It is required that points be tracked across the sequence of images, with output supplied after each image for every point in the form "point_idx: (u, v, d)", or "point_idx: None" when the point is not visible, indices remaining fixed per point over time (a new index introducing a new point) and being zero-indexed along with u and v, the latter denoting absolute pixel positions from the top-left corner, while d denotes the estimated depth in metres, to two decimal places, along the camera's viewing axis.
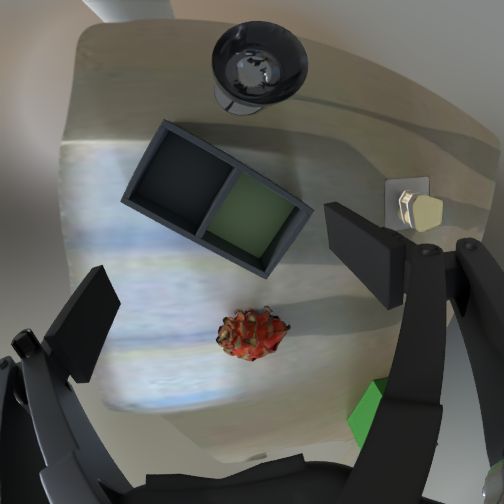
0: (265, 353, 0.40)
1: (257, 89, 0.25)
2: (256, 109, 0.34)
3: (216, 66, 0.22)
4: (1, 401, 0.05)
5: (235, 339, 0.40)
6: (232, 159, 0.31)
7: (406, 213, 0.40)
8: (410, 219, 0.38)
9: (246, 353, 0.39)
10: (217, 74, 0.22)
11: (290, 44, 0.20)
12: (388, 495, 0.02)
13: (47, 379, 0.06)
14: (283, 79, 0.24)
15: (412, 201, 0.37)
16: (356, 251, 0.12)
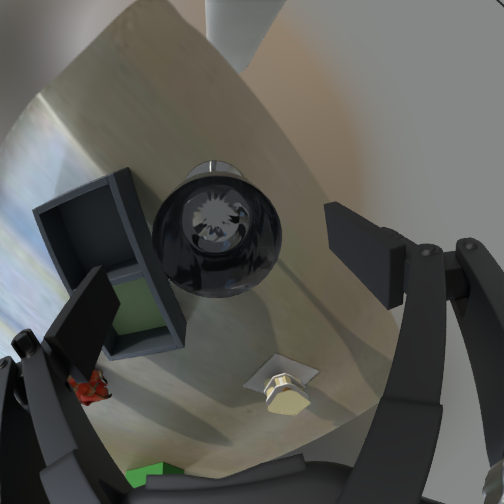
0: None
1: (209, 232, 0.23)
2: None
3: (182, 187, 0.19)
4: (1, 401, 0.05)
5: None
6: (143, 261, 0.27)
7: (271, 388, 0.41)
8: (269, 397, 0.39)
9: None
10: (177, 195, 0.19)
11: (274, 233, 0.19)
12: (388, 495, 0.02)
13: (47, 379, 0.06)
14: (240, 247, 0.23)
15: (282, 388, 0.39)
16: (356, 251, 0.12)
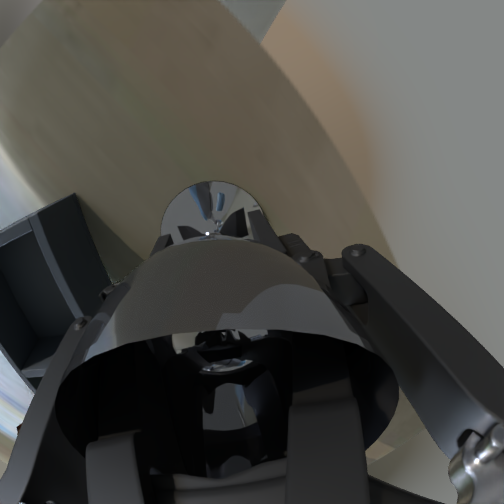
0: None
1: (206, 341, 0.11)
2: None
3: None
4: None
5: None
6: None
7: None
8: None
9: None
10: None
11: (357, 385, 0.07)
12: (333, 492, 0.03)
13: None
14: (268, 373, 0.11)
15: None
16: None
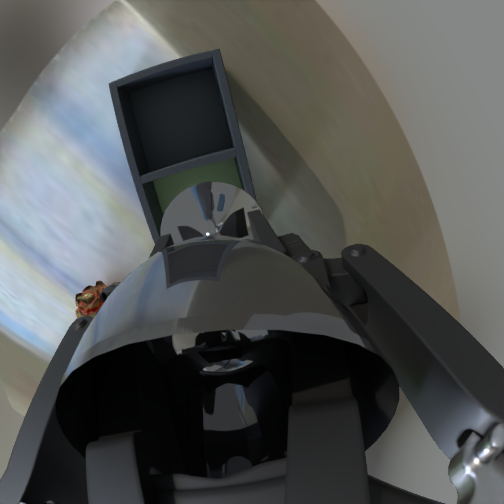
0: None
1: (206, 342, 0.11)
2: None
3: None
4: None
5: (94, 310, 0.28)
6: (239, 137, 0.25)
7: None
8: None
9: None
10: None
11: (357, 386, 0.07)
12: (333, 492, 0.03)
13: None
14: (268, 374, 0.11)
15: None
16: None
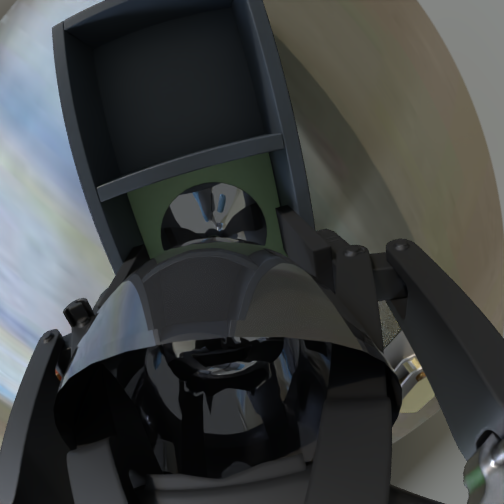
0: None
1: (206, 344, 0.11)
2: None
3: None
4: (39, 379, 0.07)
5: None
6: (290, 111, 0.12)
7: None
8: None
9: None
10: None
11: None
12: (355, 492, 0.03)
13: None
14: (269, 376, 0.11)
15: (417, 374, 0.24)
16: (296, 252, 0.13)
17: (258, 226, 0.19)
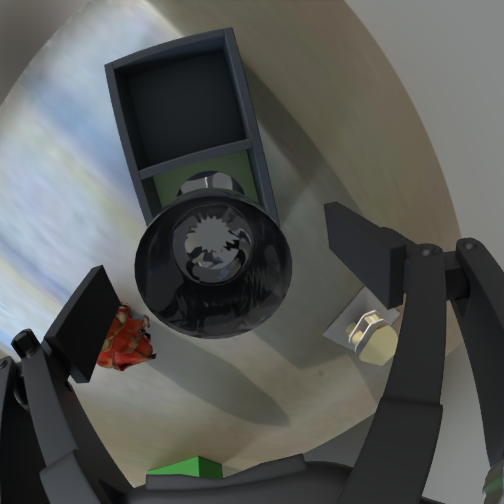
0: (108, 366, 0.25)
1: (204, 256, 0.20)
2: None
3: None
4: (1, 401, 0.05)
5: None
6: (255, 126, 0.21)
7: (359, 332, 0.35)
8: (360, 341, 0.33)
9: None
10: (166, 215, 0.16)
11: (281, 262, 0.16)
12: (388, 495, 0.02)
13: (47, 379, 0.06)
14: (240, 274, 0.19)
15: (376, 326, 0.32)
16: (356, 251, 0.12)
17: None
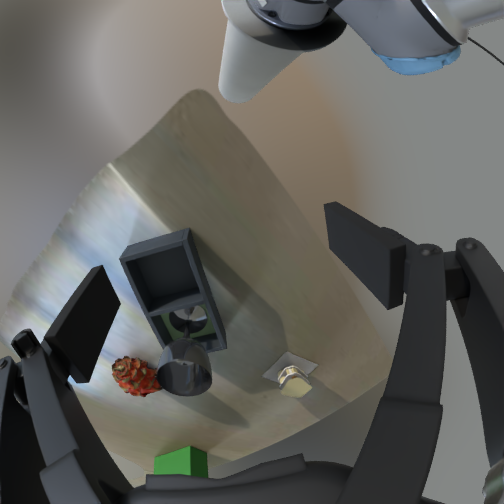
0: (137, 395, 0.47)
1: None
2: None
3: None
4: (1, 401, 0.05)
5: (126, 376, 0.47)
6: (205, 293, 0.43)
7: (283, 377, 0.57)
8: (282, 383, 0.55)
9: (126, 388, 0.46)
10: (165, 350, 0.38)
11: (211, 371, 0.38)
12: (388, 495, 0.02)
13: (47, 379, 0.06)
14: (198, 367, 0.41)
15: (291, 376, 0.54)
16: (356, 251, 0.12)
17: (203, 315, 0.49)
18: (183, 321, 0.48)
